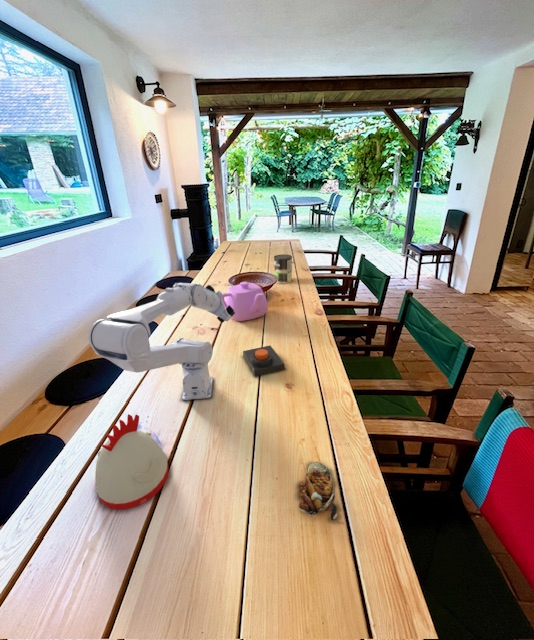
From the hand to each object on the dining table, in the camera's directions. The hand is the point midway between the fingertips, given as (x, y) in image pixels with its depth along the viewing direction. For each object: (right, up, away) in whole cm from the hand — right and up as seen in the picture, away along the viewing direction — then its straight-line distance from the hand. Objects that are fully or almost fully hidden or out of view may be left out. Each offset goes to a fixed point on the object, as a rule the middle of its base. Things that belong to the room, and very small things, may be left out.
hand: (225, 306), depth 106 cm
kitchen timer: (-14, -38, -39) cm, 56 cm away
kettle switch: (+13, -19, 0) cm, 22 cm away
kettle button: (+12, -16, -3) cm, 21 cm away
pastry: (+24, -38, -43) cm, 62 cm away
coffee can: (+23, +18, +80) cm, 86 cm away
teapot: (+5, -3, +36) cm, 37 cm away
